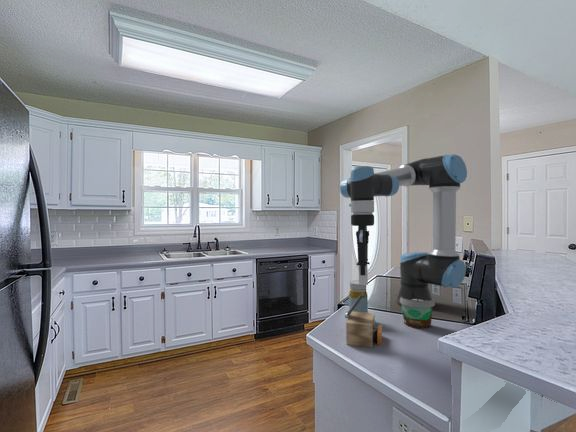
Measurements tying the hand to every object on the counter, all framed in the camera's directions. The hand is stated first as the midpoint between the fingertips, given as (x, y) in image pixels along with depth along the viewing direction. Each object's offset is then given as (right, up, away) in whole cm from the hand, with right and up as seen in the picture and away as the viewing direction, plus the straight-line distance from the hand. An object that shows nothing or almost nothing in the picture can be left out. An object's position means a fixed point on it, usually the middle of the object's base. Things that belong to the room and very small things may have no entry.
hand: (363, 284), depth 106 cm
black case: (0, -18, +1) cm, 18 cm away
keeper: (-2, -8, +1) cm, 8 cm away
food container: (+22, -18, +10) cm, 30 cm away
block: (0, -18, +1) cm, 18 cm away
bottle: (+2, -18, +18) cm, 25 cm away
